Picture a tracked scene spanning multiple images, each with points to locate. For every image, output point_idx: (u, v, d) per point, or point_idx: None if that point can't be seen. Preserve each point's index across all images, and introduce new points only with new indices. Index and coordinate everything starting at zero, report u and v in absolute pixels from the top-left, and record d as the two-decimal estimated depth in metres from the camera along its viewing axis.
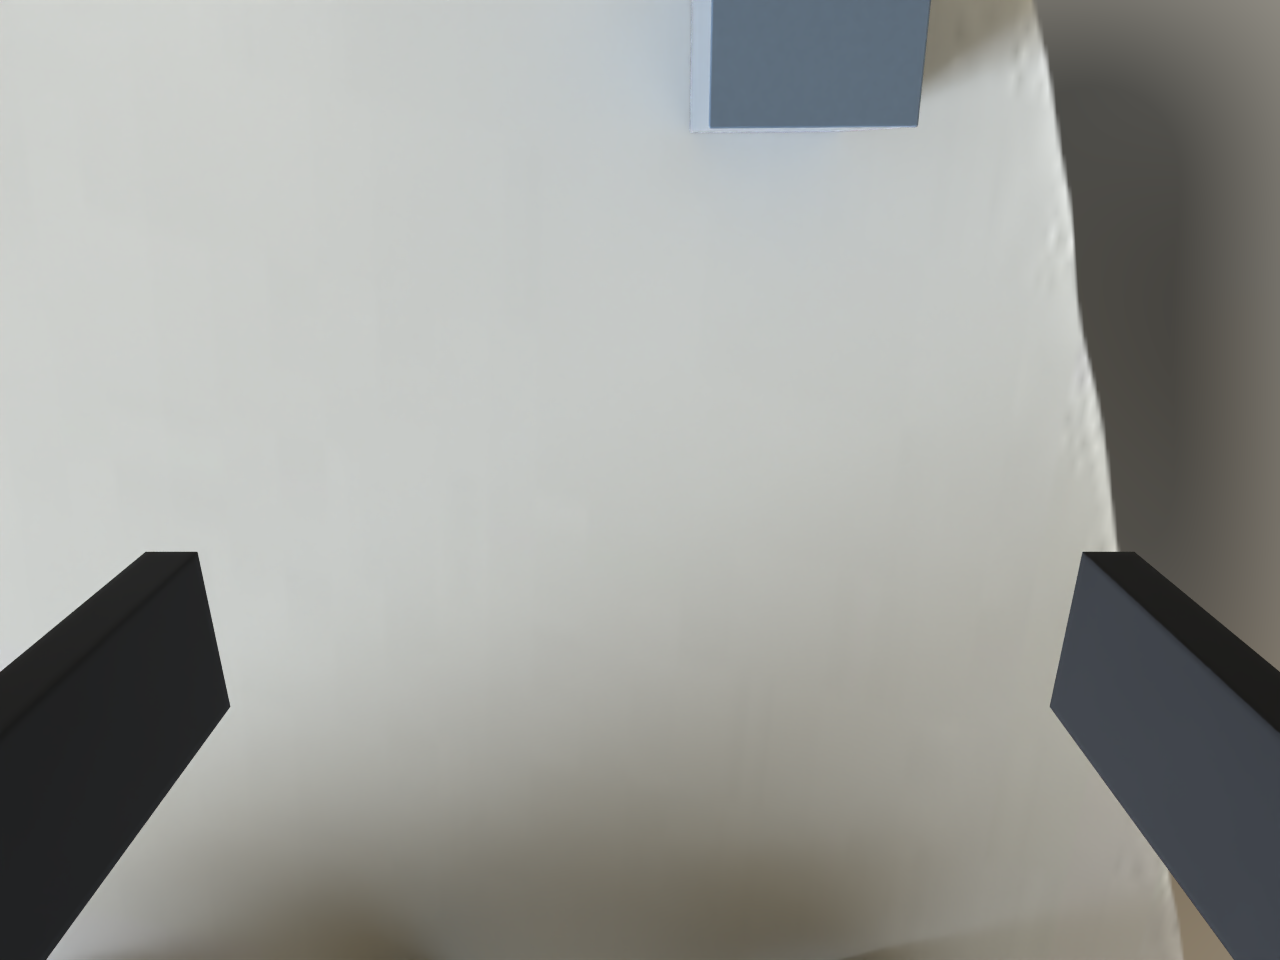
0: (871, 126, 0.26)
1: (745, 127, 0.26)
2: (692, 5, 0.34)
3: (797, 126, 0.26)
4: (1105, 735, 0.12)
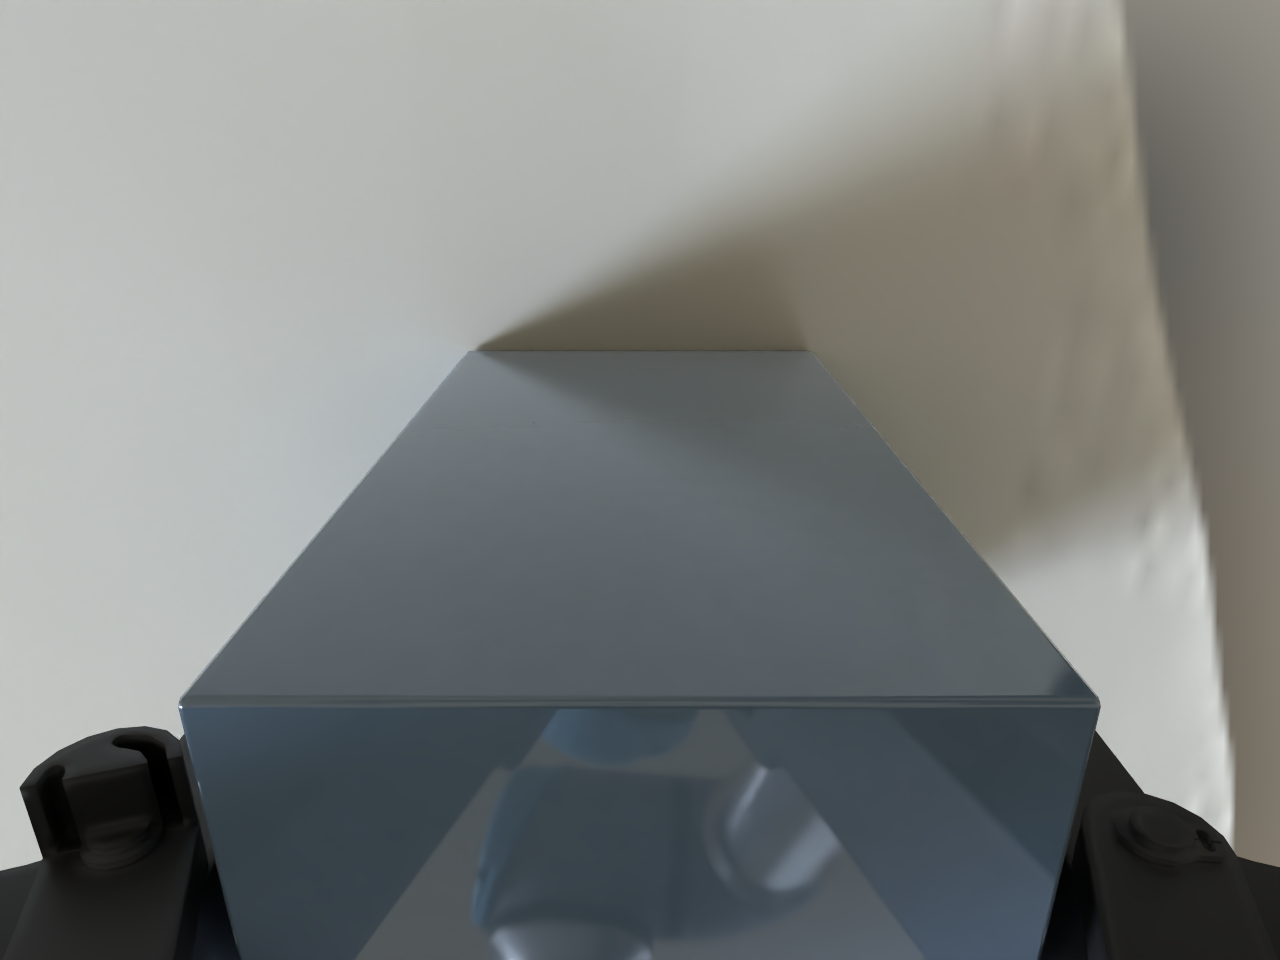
0: None
1: None
2: None
3: None
4: None
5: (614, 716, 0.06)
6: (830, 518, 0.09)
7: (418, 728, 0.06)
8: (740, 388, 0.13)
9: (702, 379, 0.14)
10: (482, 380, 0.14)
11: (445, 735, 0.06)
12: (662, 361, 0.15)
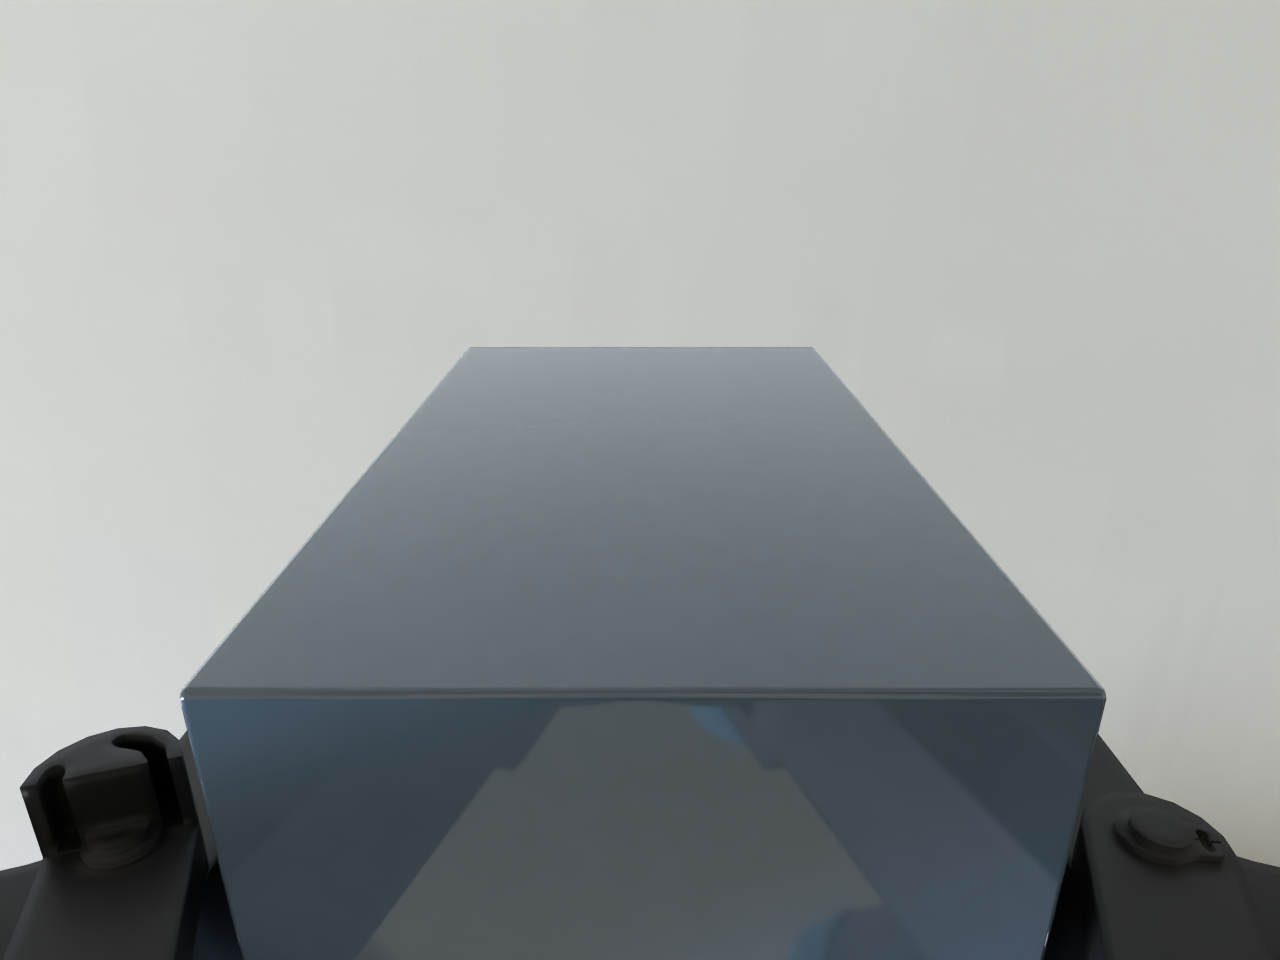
0: None
1: None
2: None
3: None
4: None
5: (616, 708, 0.06)
6: (833, 512, 0.09)
7: (422, 720, 0.06)
8: (742, 384, 0.13)
9: (703, 375, 0.14)
10: (483, 376, 0.14)
11: (447, 728, 0.06)
12: (663, 357, 0.15)
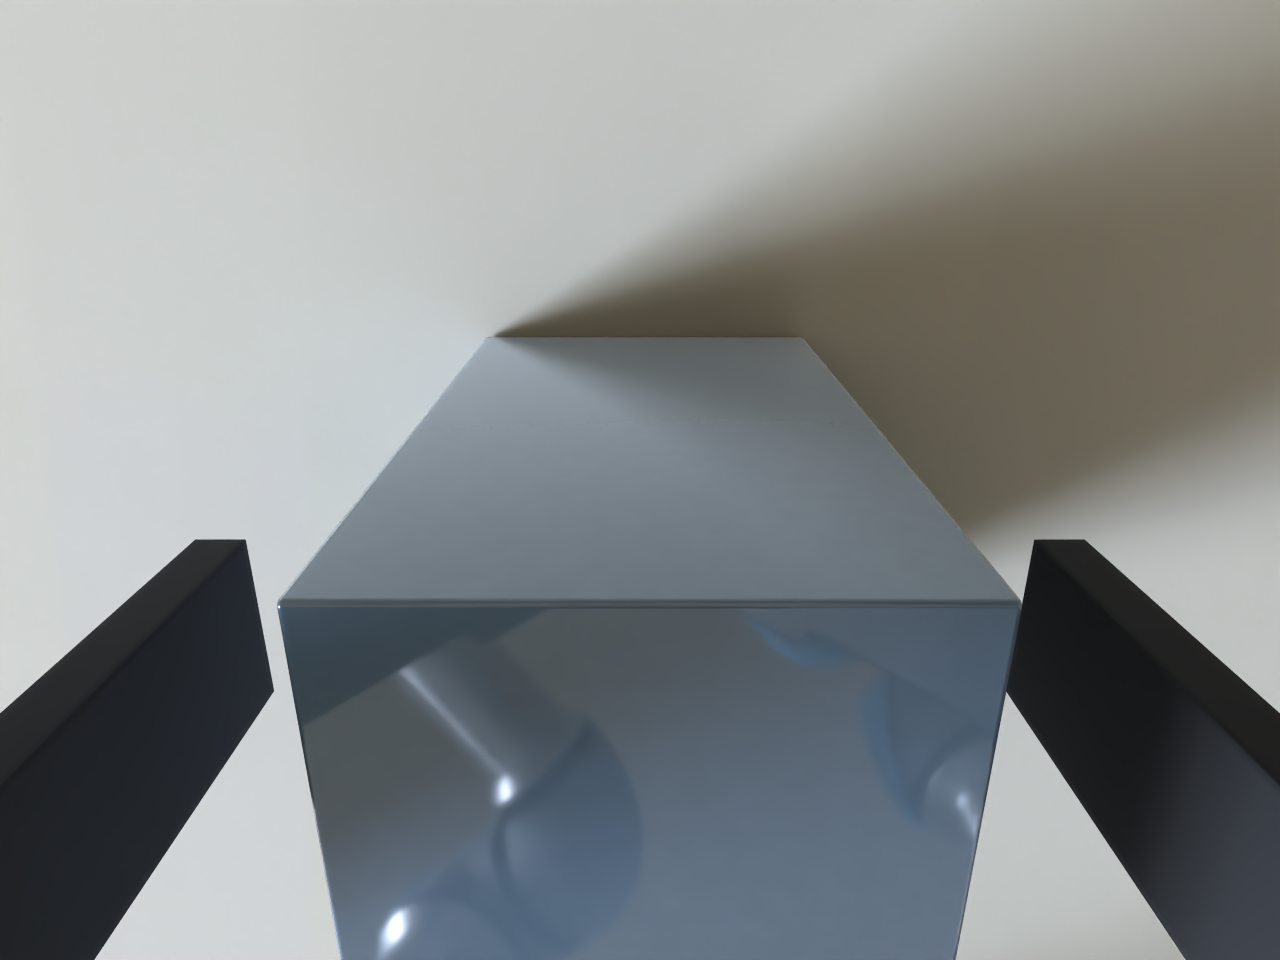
0: None
1: None
2: None
3: None
4: (1054, 716, 0.12)
5: (629, 614, 0.07)
6: (811, 471, 0.10)
7: (471, 624, 0.07)
8: (736, 368, 0.15)
9: (701, 361, 0.15)
10: (502, 362, 0.15)
11: (491, 631, 0.07)
12: (665, 346, 0.16)
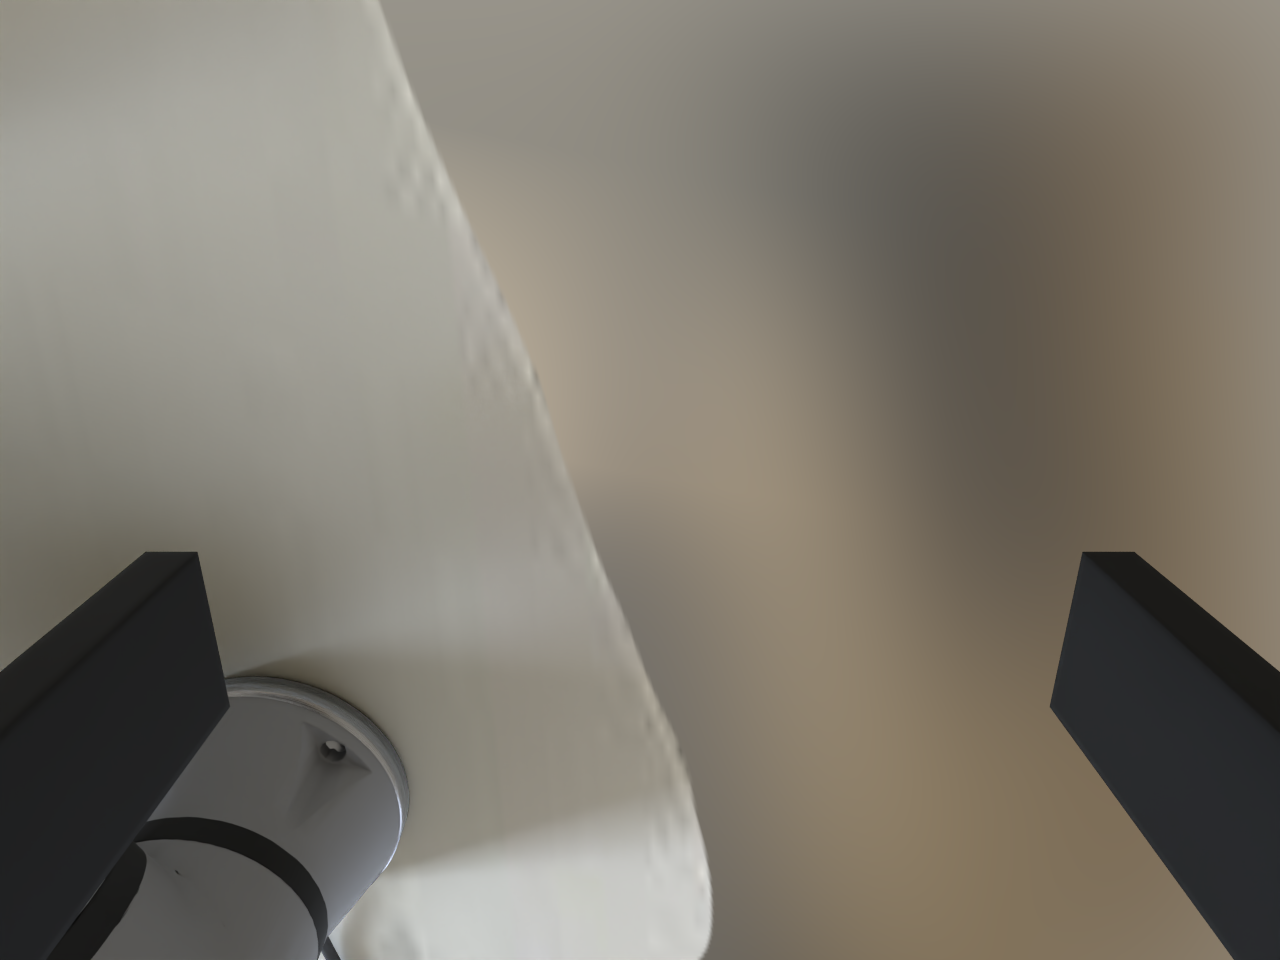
0: None
1: None
2: None
3: None
4: (1105, 735, 0.12)
5: None
6: None
7: None
8: None
9: None
10: None
11: None
12: None
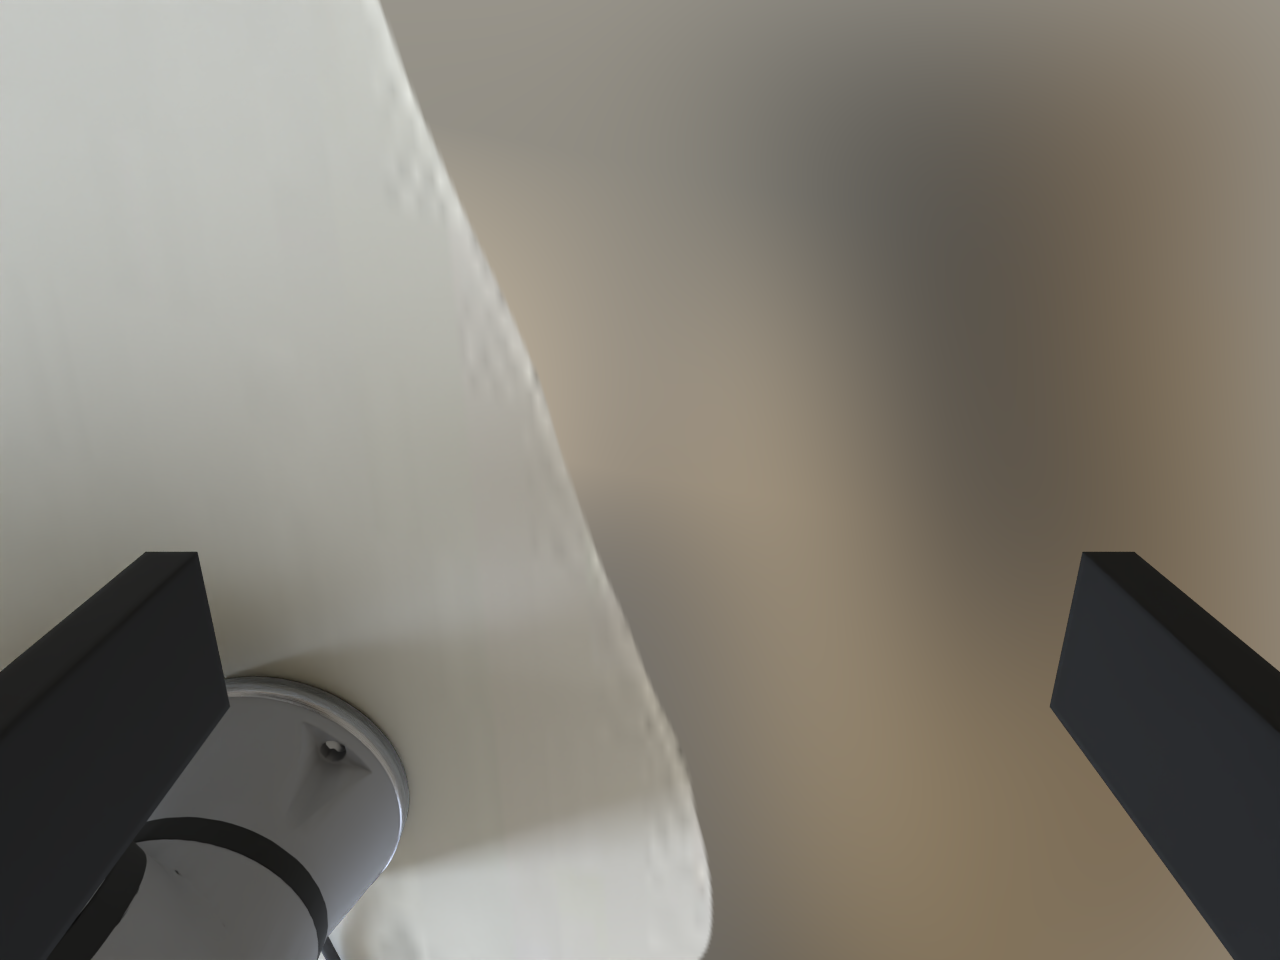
0: None
1: None
2: None
3: None
4: (1105, 735, 0.12)
5: None
6: None
7: None
8: None
9: None
10: None
11: None
12: None
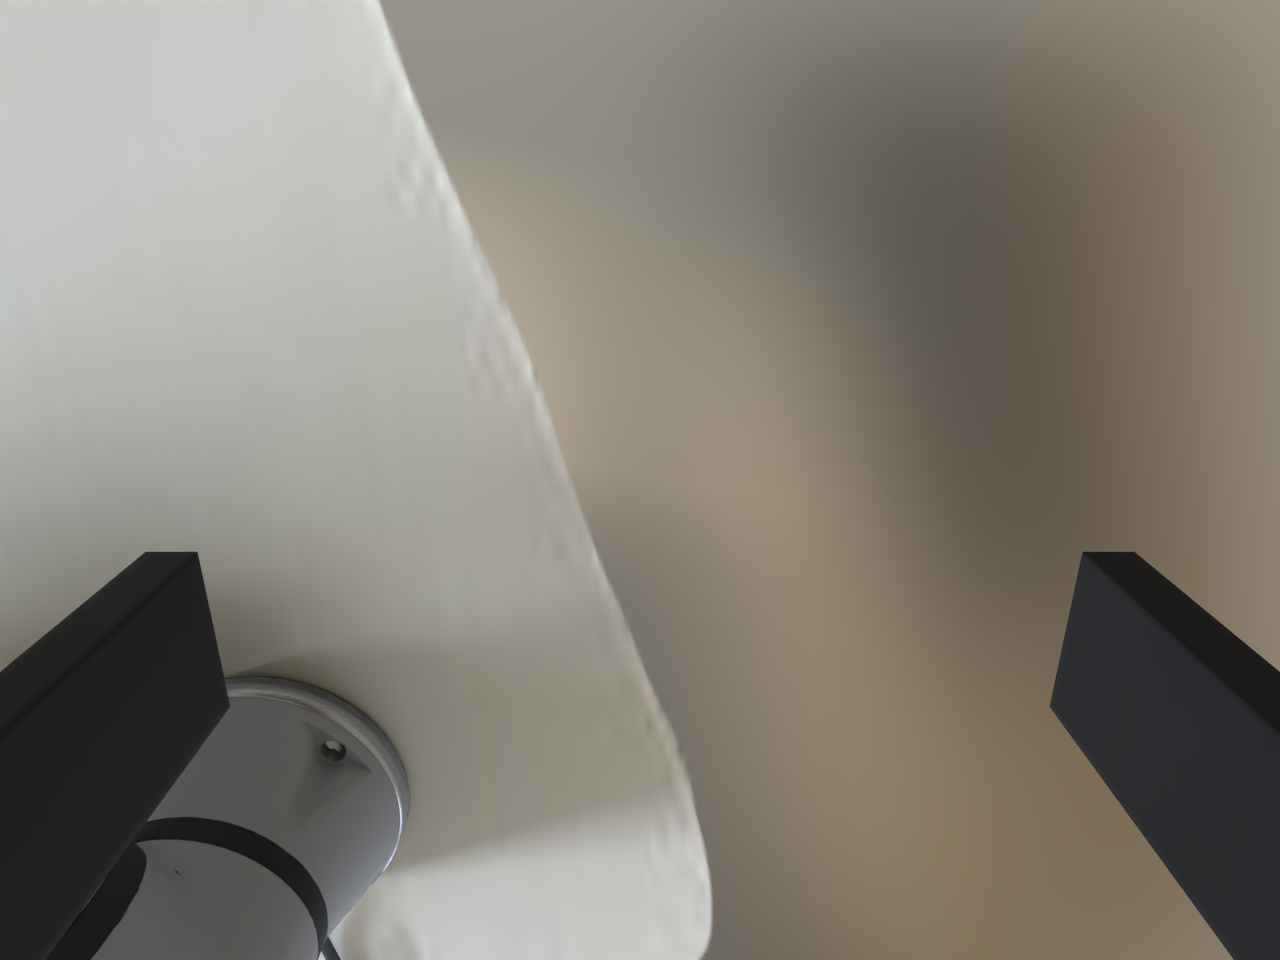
0: None
1: None
2: None
3: None
4: (1105, 735, 0.12)
5: None
6: None
7: None
8: None
9: None
10: None
11: None
12: None
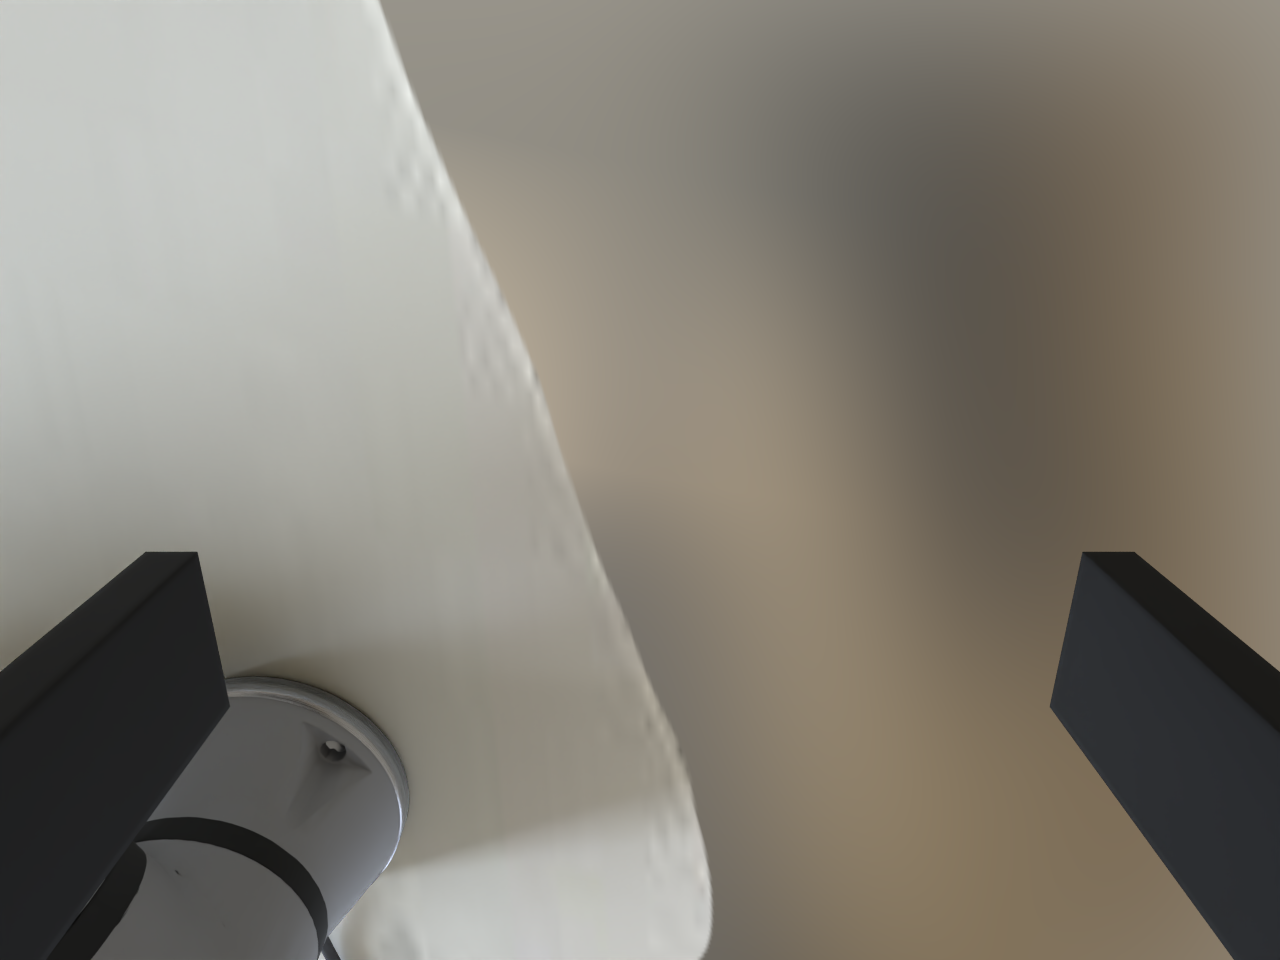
0: None
1: None
2: None
3: None
4: (1105, 735, 0.12)
5: None
6: None
7: None
8: None
9: None
10: None
11: None
12: None
